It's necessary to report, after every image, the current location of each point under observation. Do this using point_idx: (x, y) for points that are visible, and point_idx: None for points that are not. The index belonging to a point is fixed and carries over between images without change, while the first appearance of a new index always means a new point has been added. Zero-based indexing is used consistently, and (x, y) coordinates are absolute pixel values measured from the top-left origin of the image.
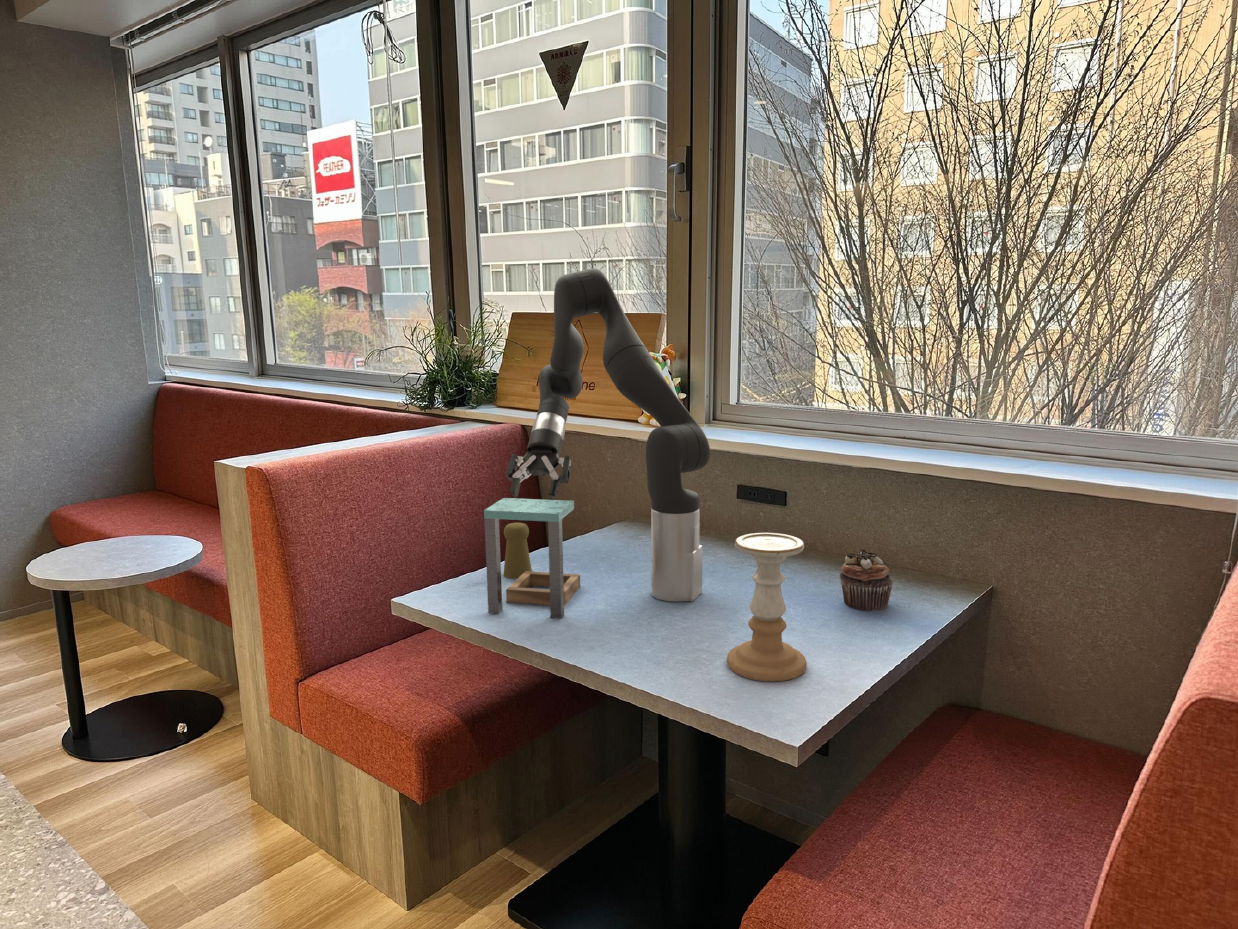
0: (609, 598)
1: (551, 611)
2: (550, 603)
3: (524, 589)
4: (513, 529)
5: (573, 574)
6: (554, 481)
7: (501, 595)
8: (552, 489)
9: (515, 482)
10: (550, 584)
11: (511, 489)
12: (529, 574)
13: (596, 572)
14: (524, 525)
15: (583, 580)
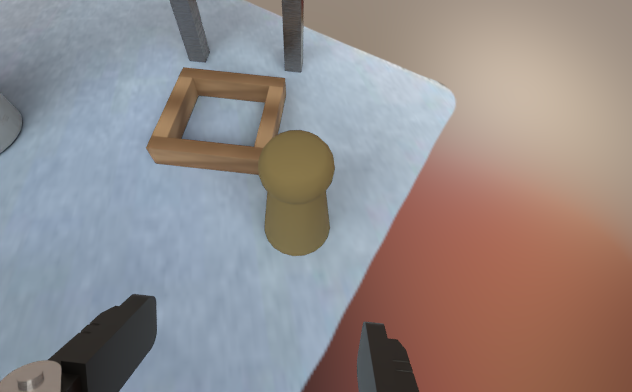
0: (107, 114)
1: (206, 44)
2: (204, 32)
3: (253, 79)
4: (297, 130)
5: (160, 146)
6: (69, 354)
7: (284, 49)
8: (117, 308)
9: (385, 370)
10: (195, 2)
11: (395, 347)
12: (255, 143)
13: (107, 250)
14: (268, 148)
15: (146, 196)
